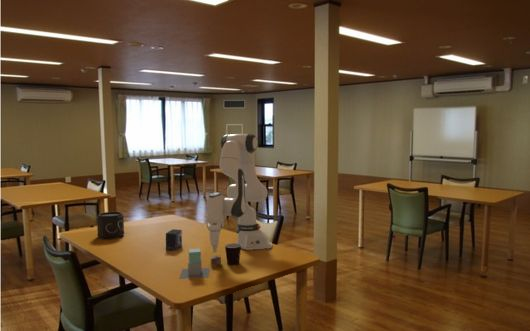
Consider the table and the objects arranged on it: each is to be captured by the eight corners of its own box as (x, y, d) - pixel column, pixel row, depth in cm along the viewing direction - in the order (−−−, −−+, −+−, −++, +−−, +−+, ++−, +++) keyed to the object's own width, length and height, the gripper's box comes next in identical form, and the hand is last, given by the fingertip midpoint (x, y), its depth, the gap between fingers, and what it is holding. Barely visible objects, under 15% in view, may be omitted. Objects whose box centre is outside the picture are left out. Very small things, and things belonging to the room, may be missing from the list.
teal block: (199, 259, 203) (199, 248, 203) (200, 262, 198) (200, 251, 197) (188, 260, 202) (188, 249, 201) (189, 263, 196) (189, 252, 196)
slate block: (201, 270, 204) (201, 259, 203) (200, 274, 198) (200, 263, 197) (189, 271, 203) (189, 259, 203) (188, 275, 197) (188, 263, 197)
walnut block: (220, 264, 215) (220, 255, 214) (220, 267, 210) (220, 258, 209) (211, 264, 214) (211, 255, 214) (211, 267, 209) (210, 258, 209)
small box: (175, 250, 240) (175, 233, 239) (165, 250, 241) (165, 233, 240) (182, 246, 250) (182, 229, 249) (172, 245, 251) (172, 229, 251)
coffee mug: (234, 267, 210) (234, 248, 209) (222, 264, 214) (221, 246, 213) (247, 261, 219) (247, 243, 219) (234, 258, 224) (234, 241, 223)
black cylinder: (131, 235, 277) (130, 212, 276) (108, 241, 262) (107, 217, 261) (114, 231, 287) (113, 210, 286) (91, 237, 272) (90, 214, 271)
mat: (209, 268, 208) (209, 267, 208) (208, 278, 194) (208, 277, 194) (182, 269, 207) (182, 268, 207) (179, 279, 193) (179, 278, 193)
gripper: (210, 220, 220) (210, 244, 221) (207, 228, 200) (208, 255, 200) (221, 219, 221) (221, 244, 221) (220, 227, 200) (220, 255, 201)
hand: (215, 249), depth 211 cm, fingers open, 8 cm apart
